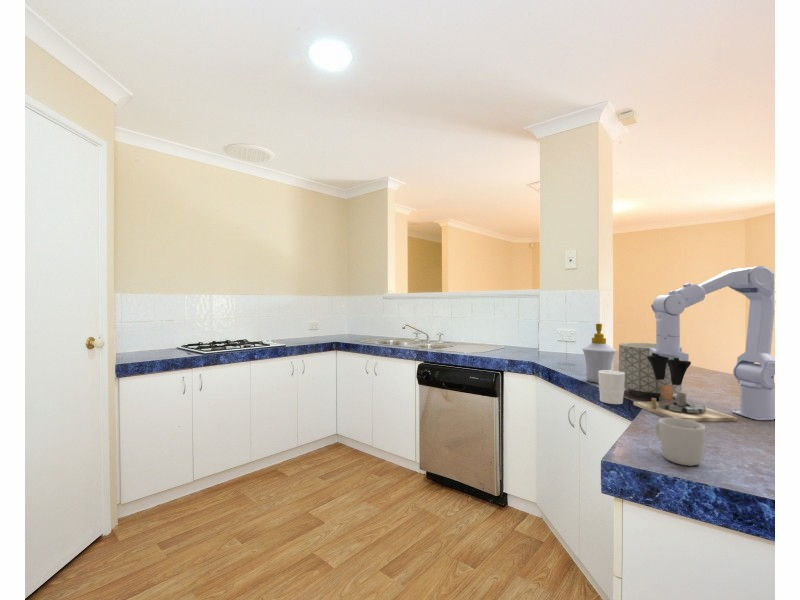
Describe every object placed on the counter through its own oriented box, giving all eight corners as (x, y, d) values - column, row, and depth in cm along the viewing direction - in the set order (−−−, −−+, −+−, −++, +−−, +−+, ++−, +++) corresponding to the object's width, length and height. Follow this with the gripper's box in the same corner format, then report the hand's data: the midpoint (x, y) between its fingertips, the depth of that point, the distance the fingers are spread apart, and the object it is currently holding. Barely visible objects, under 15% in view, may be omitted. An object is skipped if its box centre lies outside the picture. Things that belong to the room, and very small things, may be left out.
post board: (686, 404, 127) (686, 386, 127) (736, 421, 109) (736, 399, 109) (633, 404, 126) (633, 386, 126) (675, 421, 108) (675, 400, 108)
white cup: (628, 405, 125) (628, 374, 125) (602, 404, 127) (602, 373, 127) (619, 399, 133) (620, 370, 133) (595, 398, 134) (595, 369, 135)
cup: (640, 449, 87) (640, 413, 87) (673, 448, 88) (673, 413, 88) (678, 470, 76) (678, 429, 76) (716, 468, 77) (716, 428, 77)
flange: (714, 413, 111) (714, 396, 111) (672, 412, 113) (672, 394, 113) (682, 400, 126) (682, 385, 126) (645, 399, 128) (645, 384, 128)
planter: (639, 388, 152) (639, 342, 152) (693, 399, 134) (693, 347, 135) (607, 392, 143) (607, 343, 144) (660, 405, 126) (660, 349, 126)
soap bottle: (616, 381, 166) (616, 323, 166) (614, 386, 155) (614, 324, 155) (584, 377, 172) (584, 322, 173) (580, 382, 162) (580, 323, 162)
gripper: (639, 333, 121) (639, 377, 121) (669, 337, 107) (670, 387, 106) (662, 333, 121) (662, 377, 121) (696, 338, 106) (696, 387, 106)
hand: (667, 382), depth 113 cm, fingers open, 7 cm apart
